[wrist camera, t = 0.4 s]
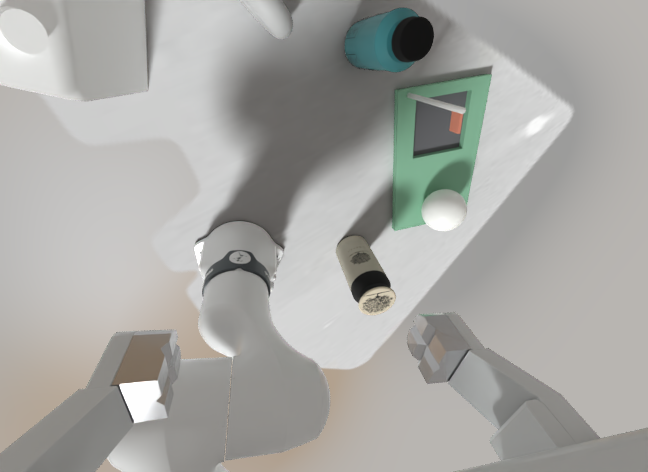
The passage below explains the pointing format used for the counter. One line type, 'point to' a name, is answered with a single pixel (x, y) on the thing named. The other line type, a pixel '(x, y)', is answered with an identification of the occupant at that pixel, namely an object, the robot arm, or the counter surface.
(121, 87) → the milk
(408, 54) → the beverage bottle
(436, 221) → the ball
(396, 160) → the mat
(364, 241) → the travel mug
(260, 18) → the donut
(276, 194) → the counter surface
